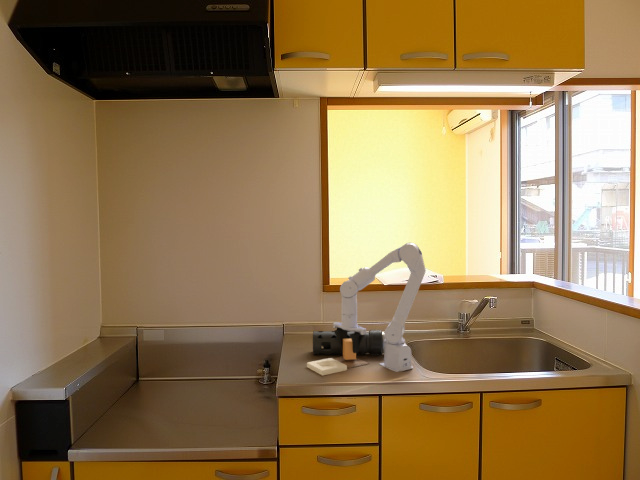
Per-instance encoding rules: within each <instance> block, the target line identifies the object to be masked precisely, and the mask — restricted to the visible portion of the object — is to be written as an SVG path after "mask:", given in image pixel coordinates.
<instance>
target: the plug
mask: <svg viewBox="0 0 640 480" xmlns="http://www.w3.org/2000/svg"><path fill="white" fill-rule="evenodd" d="M342 356H343V357H344V359H345V360H350V359H356V358H357V355H356V353H353V344H352V339H343V355H342Z"/></svg>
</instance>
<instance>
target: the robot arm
mask: <svg viewBox="0 0 640 480" xmlns="http://www.w3.org/2000/svg"><path fill="white" fill-rule="evenodd" d="M400 262H403V263H404V264H406V266H407V268H408V271H409V272H410V275H409V278H408V280H407V282H406V285H405V287H404V289H403V292H402V294H401V297H400V300H399V302H398V304H397V307H396V310H395V312H394V314H393V316H392V318H391V321H389V322H388V323H387V326H386V328H385V329H384V331H383V332H384V337H385V339H384V353H383V355H384V357H383V362H380V363H379V364H378V365H379V366H381V367H384V368H386V369H388V370H390V371H393V372H396V373H398V372H403V371H407V370H412V369H414V366H413V365H412V348H411V347H410V346H409V345H407V343H406V339H405V338H404V337H403V335H404V334H405V332H406V328H405V324H406V321H407V319H408V316H409V313H410V311H411V309H412V307H413V304H414V302H415V299H416V296H417V295H418V292H419V290H420V287H421V284H422V282H423V279H424V277H425V275H426V266H425V262H424V256H423V252H422V251H421V249H420V248H419V246H418V245H417V244H416V243H414V242H407V243H405V244H404V245H402V246H399V247H398V248H396V249H394V250H392V251H390V252H389V253H388V254H386V255H385V256H384V257H382V258H381V259H380V260H379V261H377V262H376V263H375V264H373V265H372V266H371V267H367V266H364V267H360V268H359V269H358V272H356V273H355V274H354V275H351V276H349V277H348V279H347V280H345V281H343V282H342V283H341V285H340V287H339V293H340V295H341V301H340V302H341V303H340V304H341V307H340V308H341V318H340V319H341V322H339V321H335V322H333V323H332V328H333V329H335V330H333V331H334V333H335V334H336V336H337V338H338V341H339V344H340V348H341V350H342V349H343V339H346V338H347V333H348V331H351V332H354V333H353V334H350V336H351V339H352V344H353V353H357V352H358V351H359V347H360V343H361V341H362V339H363V337H364V335H365V334H366V332H367V328H365V327H363V326H360V325H359V324H358V299H357V298H358V293H359V291H362V290H363V289H365V288H367V286H368V285H370V284H372V282H374V281H375V280H376V275H377V274H379V273H380V272H382V271H383V270H384V269H386V268H387V267H389V266H391V264H393V263H395V264H396V263H400Z"/></svg>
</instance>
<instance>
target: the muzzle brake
mask: <svg viewBox="0 0 640 480" xmlns="http://www.w3.org/2000/svg"><path fill="white" fill-rule="evenodd" d="M334 331H335V330H313V331H312V355H313V356H322V355H323V356H326V355H327V356H328V355H330V356H331V355H332V356H334V355H335V356H343V349H342V350H341V348H340V344H339V341H338V338H337V336H336V334H335V333H334ZM353 333H354V332H351V331H348V333H347V338H346V339H351V336H350V334H353ZM384 339H385V337H384V331H382V330H381V329H370V330H368V331H366V334H365V335H364V337H363V339H362V341H361V343H360V347H359V351H358V352H357V353H356V356H358V355H362V356H363V355H365V356H366V355H367V354H369V355H371V356H382V355H384Z"/></svg>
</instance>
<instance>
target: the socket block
mask: <svg viewBox="0 0 640 480" xmlns="http://www.w3.org/2000/svg"><path fill="white" fill-rule="evenodd" d="M332 358H333V357H328V358H322V359H318V360H313V361H308V362H306V368H308V369H309V370H311V371H313V372H315V373H317V374H318V375H321V376H326V375H331V374H336V373H340V372H345V371H347V370H348V368H347V365H345V364H343V363H341V362H339V361H337V360H335V359H332Z"/></svg>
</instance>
